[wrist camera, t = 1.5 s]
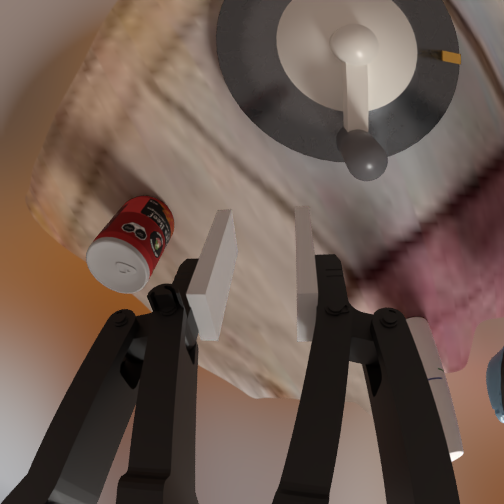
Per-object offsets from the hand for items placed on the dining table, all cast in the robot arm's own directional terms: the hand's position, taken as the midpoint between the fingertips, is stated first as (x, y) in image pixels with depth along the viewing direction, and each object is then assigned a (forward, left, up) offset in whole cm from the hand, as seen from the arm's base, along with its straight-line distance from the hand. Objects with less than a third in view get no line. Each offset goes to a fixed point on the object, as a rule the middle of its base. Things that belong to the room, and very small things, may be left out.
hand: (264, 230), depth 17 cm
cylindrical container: (-22, +34, -21) cm, 46 cm away
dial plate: (-8, -10, -21) cm, 24 cm away
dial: (-8, -8, -18) cm, 21 cm away
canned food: (+18, +10, -21) cm, 29 cm away
